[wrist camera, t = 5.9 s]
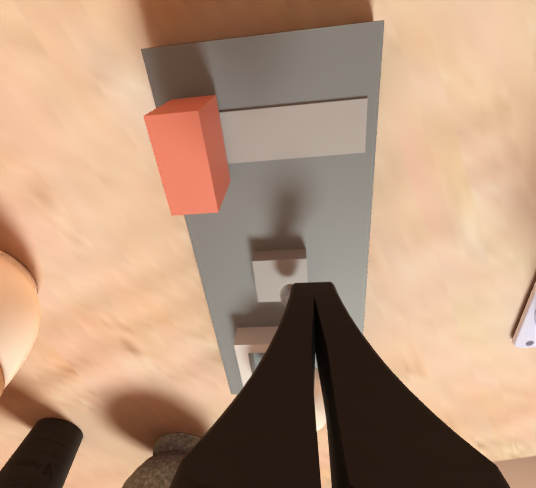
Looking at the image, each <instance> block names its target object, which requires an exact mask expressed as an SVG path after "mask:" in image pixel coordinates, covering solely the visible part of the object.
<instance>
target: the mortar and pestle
mask: <svg viewBox="0 0 536 488" xmlns="http://www.w3.org/2000/svg"><path fill="white" fill-rule="evenodd" d="M200 439H201V438H200V437H199V436H194V435H190V434H186V433H181V432H179V433H172V434H164V435H163V436H161V437H160V438H159V439H158V440H157V441H156V442H155V446H154V449H153V456H152V457H150V458H148V459H147V460H146V461H145V462H144V463H143V464H142V465H140V466H139V467H138V468H137V469H136V470H135V472H134V473H133V474H132V475H131V476H130V477H129V478H128V479H127V480H126V482H125V483H124V485H123V487H122V488H169V487H170V485H171V482H172V480H173V477H174V475H175V473H176V470H177V468H178V466H179V464H180V462H181V460H182V458H183V457H184V456H185V455H186V454H187V453H188V452H189V451H190V449H191V448H192V447H193V446H194V445H195V444H196V443H197V442H198V441H199V440H200Z"/></svg>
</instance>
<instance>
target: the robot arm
mask: <svg viewBox="0 0 536 488" xmlns="http://www.w3.org/2000/svg"><path fill="white" fill-rule="evenodd" d="M512 343H513V344H514V345H515V347H518V348H532V347H536V282H535V284H534V287H533V289H532V292H531V294H530V297H529V299H528V302H527V304H526V307H525V309H524V312H523V314H522V317H521V319H520V322H519V324H518V327H517V329H516V331H515V334H514V336H513V339H512ZM315 354H316V361H317V367H318V373H319V379H320V385H321V391H322V397H323V403H324V409H325V415H326V422H327V430H328V443H329V456H330V469H331V482H332V488H510V487H509V485H508V483H507V481H506V480H505V478H504V477H503V475H502V473H501V472H500V470H499V469H498V467H497V466H496V465H495V464H494V463H493V462H491V461H490V460H489V459H487V458H486V457H485V456H484V455H482V454H481V453H480V452H479V451H477V450H476V449H475V448H473V447H472V446H471V445H470V444H469V443H467V442H466V441H465V440H464V439H463V438H461V437H460V436H459V435H458V434H456V433H455V432H454V431H453V430H452V429H451V428H450V427H448V426H447V425H446V424H445V423H444V422H443V421H442V420H440V419H439V418H438V417H437V416H436V415H435V414H434V413H433V412H432V411H431V410H430V409H429V408H428V407H427V406H425V405H424V404H423V403H422V402H421V401H420V400H419V399H418V398H417V397H416V396H415V395H414V394H413V393H412V392H411V391H410V390H409V389H408V388H407V387H406V386H405V385H404V384H403V383H402V382H401V381H400V380H399V378H398V377H397V376H396V375H395V374H394V373H393V372H392V371H391V370H390V368H389V367H388V366H387V365H386V364H385V363H384V362H383V360H382V359H381V358H380V357H379V355H378V354H377V353H376V352H375V350H374V349H373V348H372V346H371V345H370V344H369V342H368V341H367V340H366V338H365V337H364V336H363V334H362V333H361V331H360V330H359V328H358V327H357V325H356V324H355V322H354V321H353V319H352V318H351V316H350V315H349V313H348V311H347V310H346V308H345V306H344V304H343V302H342V301H341V299H340V297H339V295H338V293H337V290H336V288H335V286H334V284H333V283H332V282H306V283H294V284H293V285H292V286H291V292H290V297H289V300H288V303H287V306H286V309H285V312H284V314H283V317H282V319H281V321H280V324H279V326H278V329H277V331H276V333H275V335H274V337H273V339H272V341H271V343H270V345H269V347H268V349H267V350H266V352H265V354H264V356H263V357H262V359H261V361H260V362H259V364H258V366H257V367H256V369H255V371H254V372H253V374H252V375H251V377H250V378H249V379H248V381H247V382H246V384H245V385H244V387H243V388H242V390H241V391H240V392H239V394H238V395H237V396H236V398H235V399H234V400H233V402H232V403H231V404H230V405H229V406H228V408H227V409H226V410H225V411H224V413H223V414H222V415H221V416H220V418H219V419H218V420H217V421H216V422H215V424H214V425H213V426H212V427H211V428H210V429H209V430H208V431H207V432H206V434H205V435H204V436H203V437H202V438H201V439H200V440H199V441H198V442H197V443H196V444H195V445H194V446H193V447H192V448H191V449H190V451H189V452H188V453H187V454H186V455H185V456H184V457H183V458H182V460H181V462H180V464H179V466H178V468H177V470H176V473H175V475H174V477H173V480H172V482H171V485H170V487H169V488H321V480H320V467H319V454H318V441H317V428H316V414H315V401H314V379H315Z"/></svg>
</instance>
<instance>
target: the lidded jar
mask: <svg viewBox="0 0 536 488" xmlns="http://www.w3.org/2000/svg"><path fill="white" fill-rule="evenodd" d="M37 293H38V292H37V285H36V282H35V280H34V278H33V277H32V275H31V273H30V272H29V271H28V270H27V269H26V267H25V266H23V265H22V264H21V263H20V262H19V261H18V260H16V259H15V258H14V257H12V256H11V255H9V254H8V253H6V252H4V251H2V250H0V397H1V395H2V393H3V391H4V389H5V387H6V386H7V385H8V384H9V382H10V381H11V380H12V379H13V377H14V376H15V375H16V373H17V372H18V370H19V369H20V368H21V366H22V364H23V363H24V361H25V359H26V358H27V356H28V354H29V352H30V351H31V349H32V346H33V344H34V342H35V340H36V338H37V334H38V330H39V326H40V320H41V310H40V303H39V299H38V296H37Z"/></svg>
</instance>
